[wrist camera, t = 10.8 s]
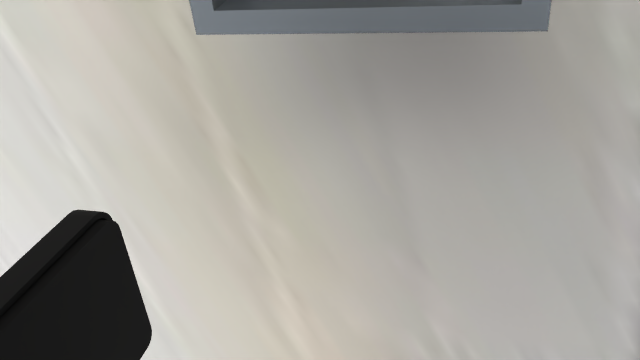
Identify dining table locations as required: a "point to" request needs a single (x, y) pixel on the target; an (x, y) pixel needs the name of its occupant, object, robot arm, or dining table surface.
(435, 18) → the grey shallow tray
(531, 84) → the dining table surface
